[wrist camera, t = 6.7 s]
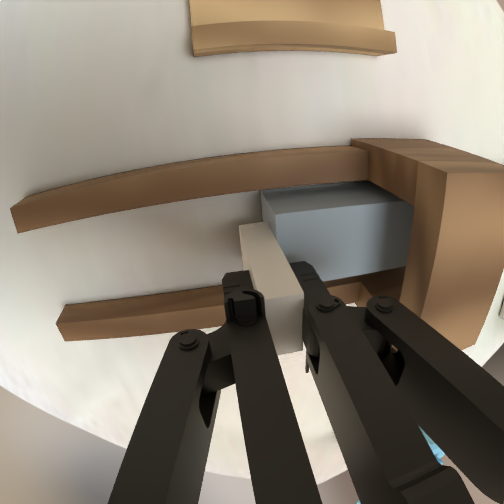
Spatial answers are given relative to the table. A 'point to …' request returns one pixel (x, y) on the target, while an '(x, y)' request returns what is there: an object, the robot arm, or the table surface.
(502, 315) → the wineglass
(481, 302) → the brown wooden forked piece
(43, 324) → the table surface
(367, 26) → the tan tray
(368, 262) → the block
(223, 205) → the table surface
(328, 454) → the table surface
